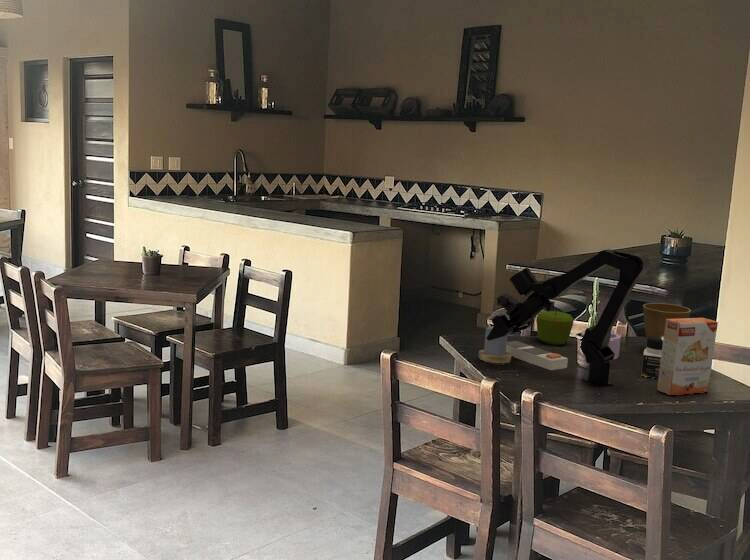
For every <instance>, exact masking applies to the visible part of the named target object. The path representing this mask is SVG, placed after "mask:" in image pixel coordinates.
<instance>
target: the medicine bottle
mask: <svg viewBox="0 0 750 560" xmlns="http://www.w3.org/2000/svg"><path fill="white" fill-rule="evenodd" d="M663 338H664V337H662V336H649V337H648V338H646V347H645V349H644V350H643V355H642V356H643V357H642V365H641V373H640V377H642V376H644V377H643V378H647V377H652V378H651V379H654V378H658V376H659V368H660V361H661V353H662V346H663Z"/></svg>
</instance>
